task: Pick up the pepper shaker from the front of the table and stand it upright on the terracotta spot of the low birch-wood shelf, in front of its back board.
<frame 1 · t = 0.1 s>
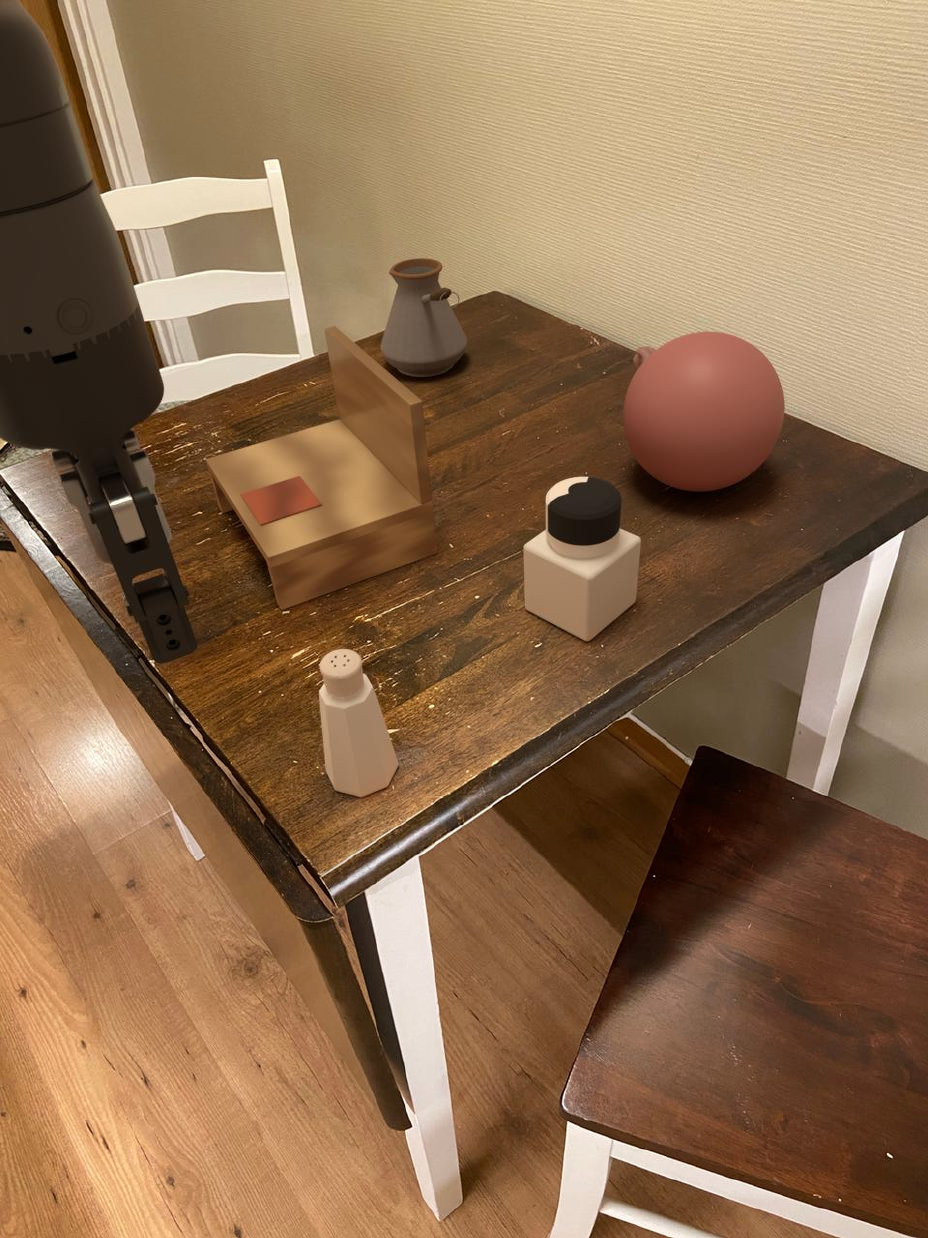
hand: (156, 608, 47), 21 cm above the table, tool pointing down, fingers open, 8 cm apart
shelf: (323, 529, 89), on the table
coffee pot: (435, 380, 114), on the table
medicine bottle: (580, 608, 78), on the table
balloon: (683, 470, 94), on the table
pepper shaker: (362, 770, 65), on the table
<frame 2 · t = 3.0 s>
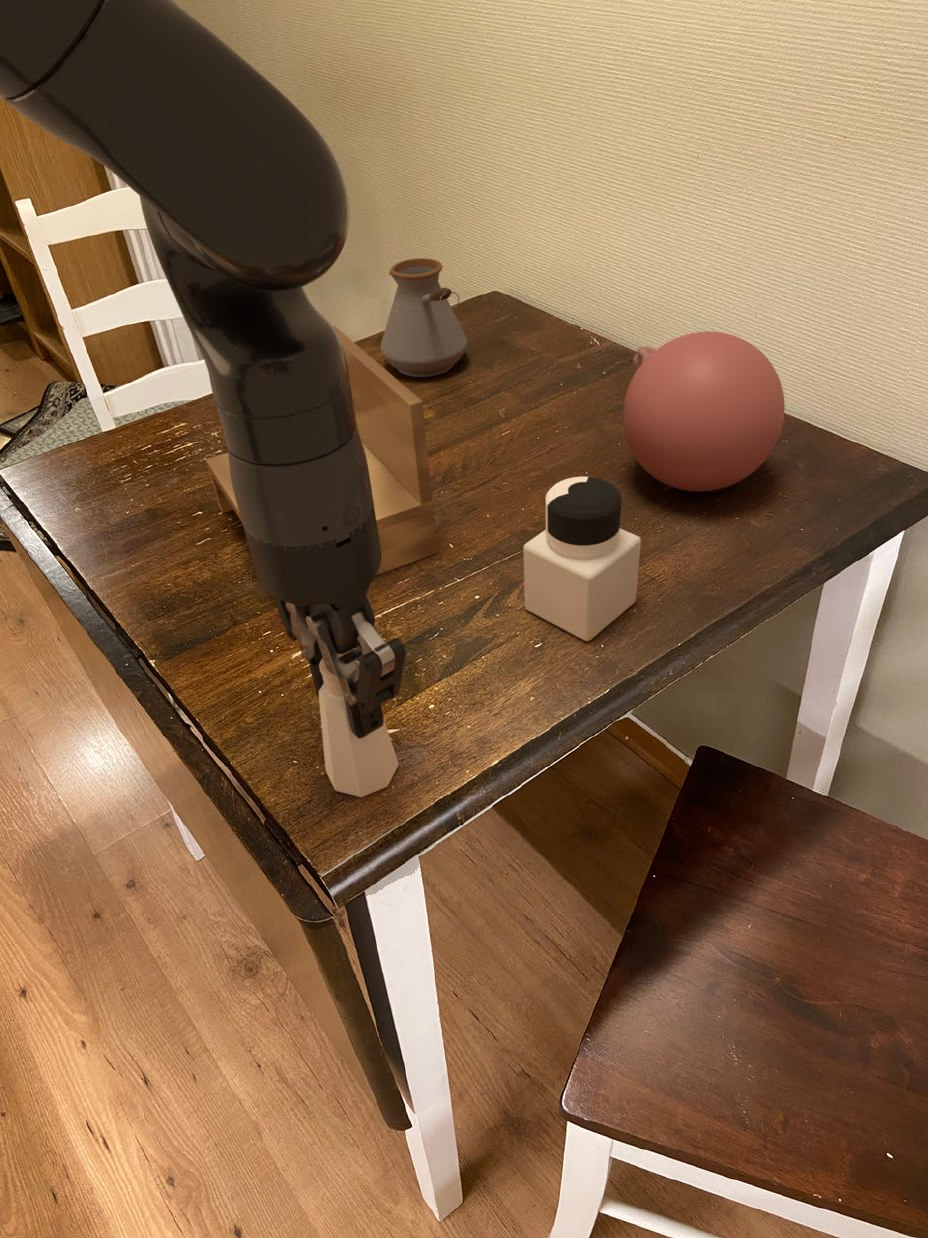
hand: (350, 711, 61), 6 cm above the table, tool pointing down, fingers closed on pepper shaker, 4 cm apart
pepper shaker: (362, 771, 65), on the table, touching gripper
everything else where it was.
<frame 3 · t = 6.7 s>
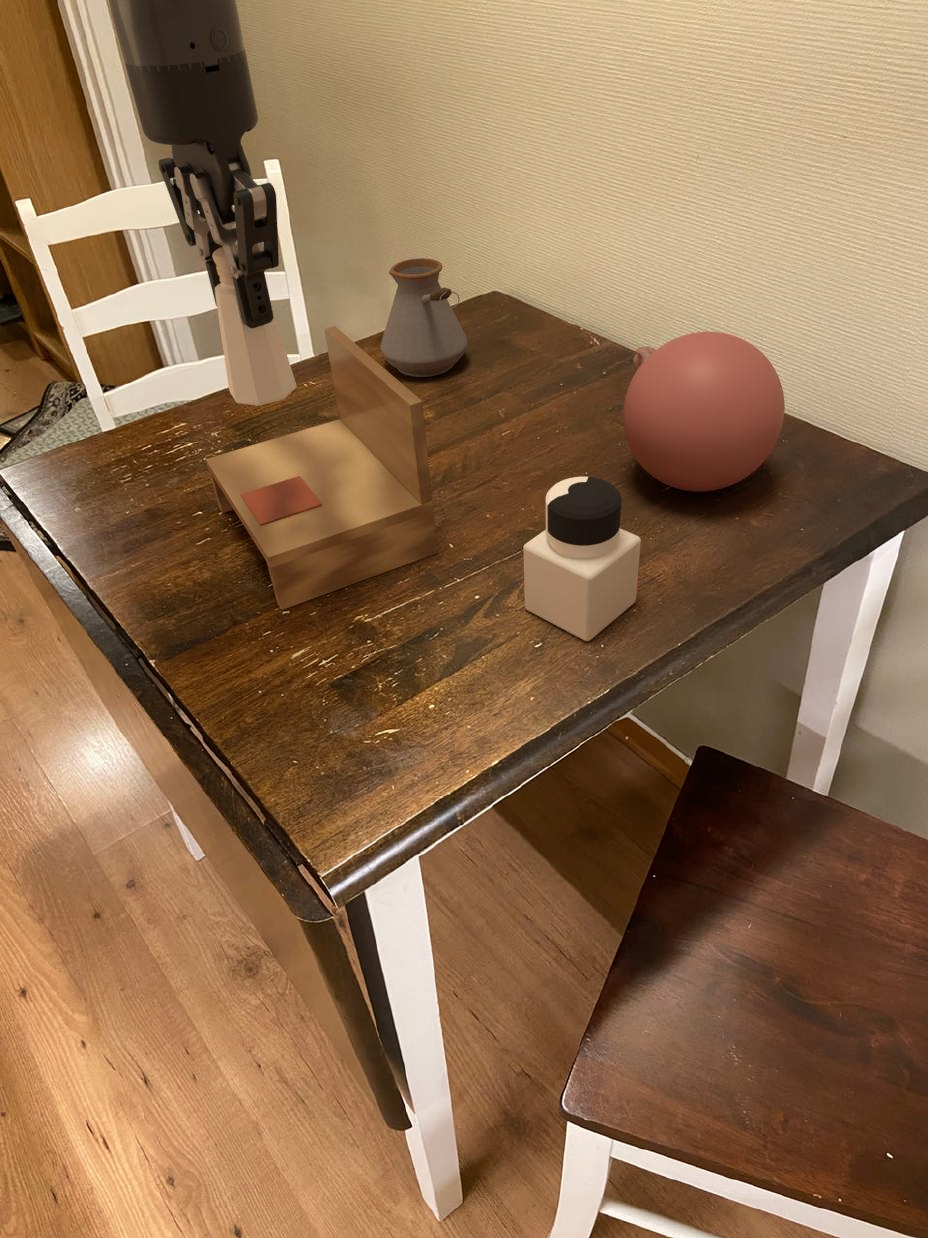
hand: (245, 314, 67), 26 cm above the table, tool pointing down, fingers closed on pepper shaker, 4 cm apart
pepper shaker: (264, 392, 71), point 19 cm above the table, touching gripper
everything else where it was.
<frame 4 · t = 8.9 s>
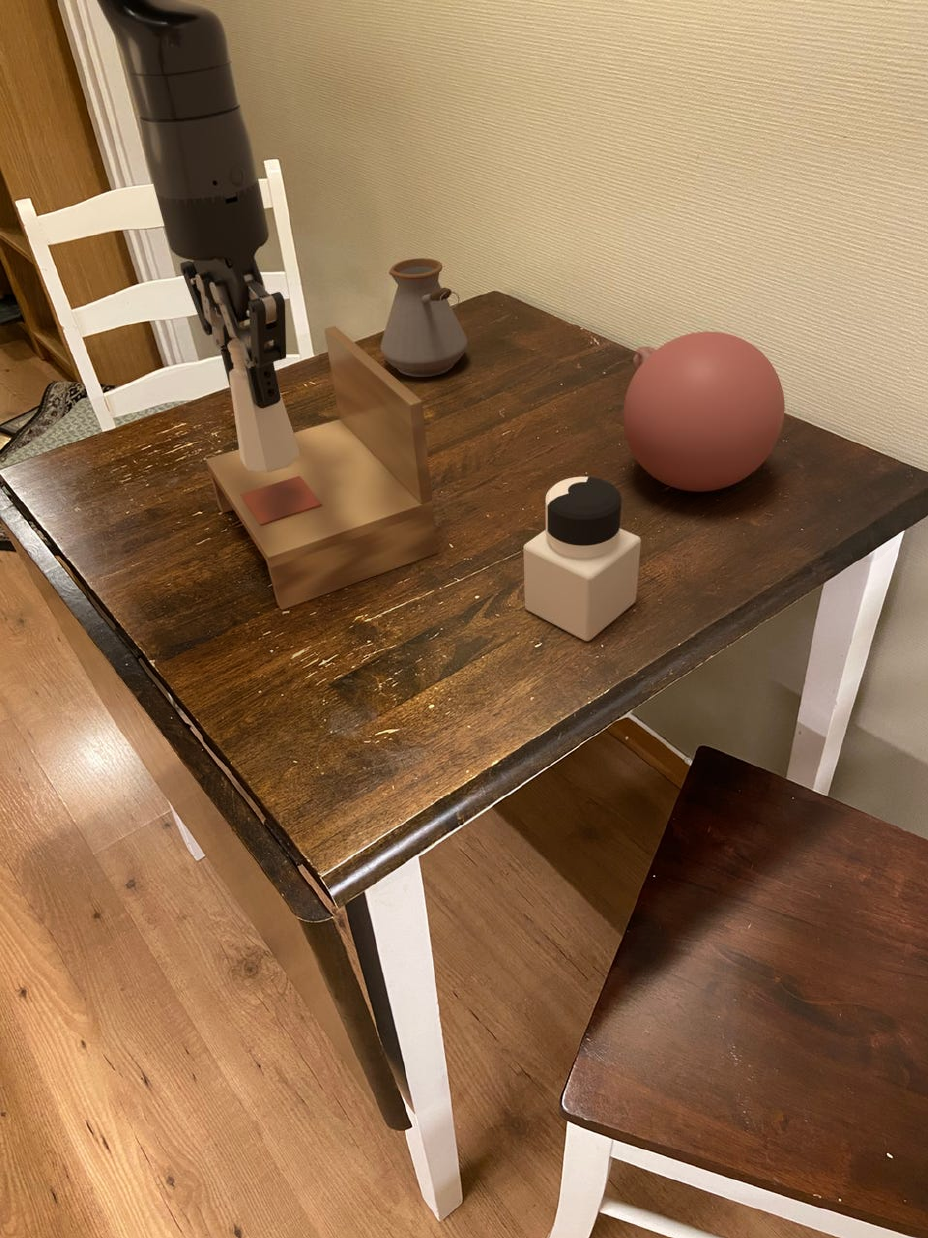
hand: (255, 394, 76), 17 cm above the table, tool pointing down, fingers closed on pepper shaker, 4 cm apart
pepper shaker: (271, 459, 80), point 10 cm above the table, touching gripper
everything else where it was.
when the fingers open (12 cm above the table, at t = 10.4 s): pepper shaker stays where it is, resting on shelf.
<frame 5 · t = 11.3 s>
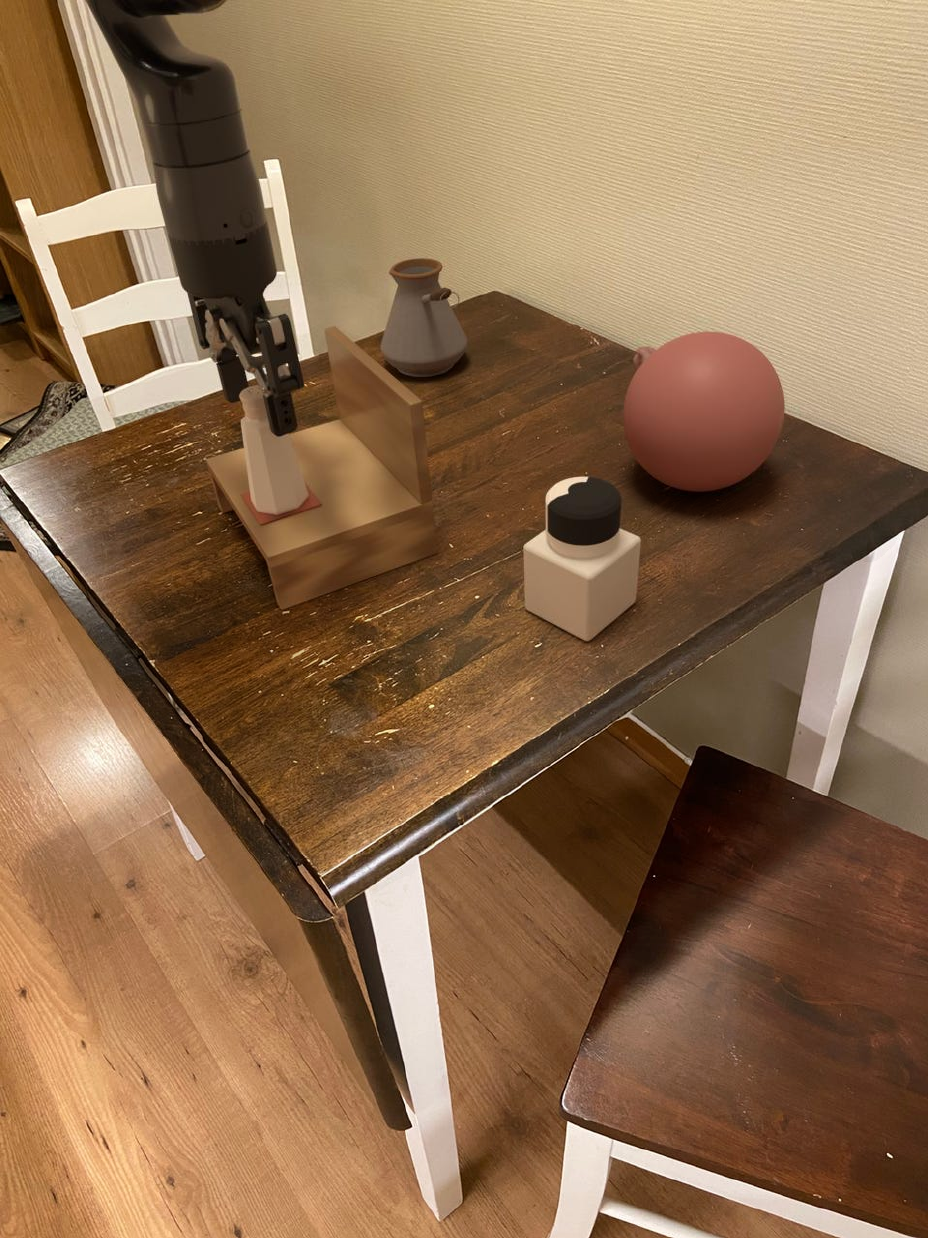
hand: (261, 415, 77), 15 cm above the table, tool pointing down, fingers open, 8 cm apart
pepper shaker: (280, 501, 83), point 6 cm above the table, touching shelf
everything else where it was.
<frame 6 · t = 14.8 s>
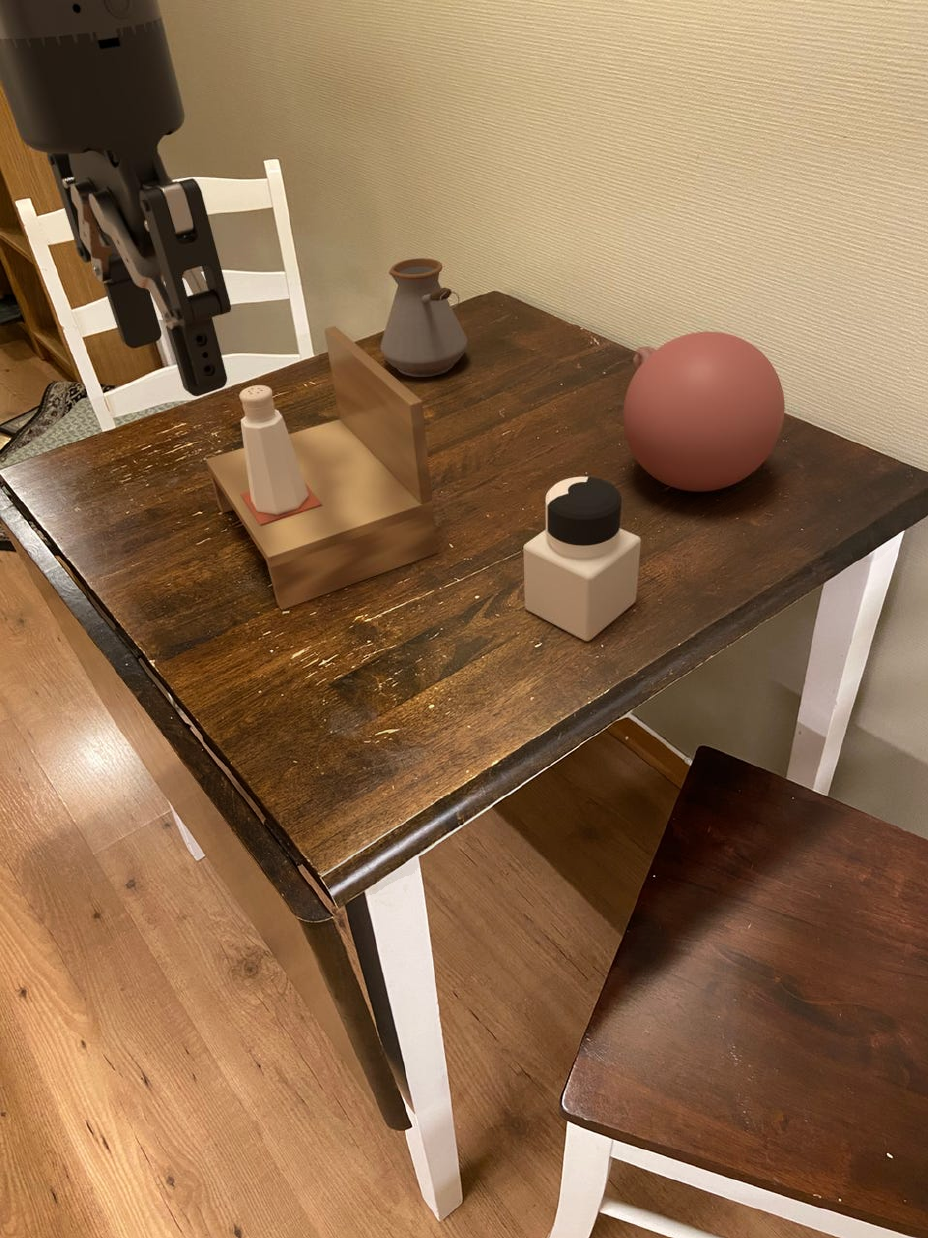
hand: (174, 365, 49), 30 cm above the table, tool pointing down, fingers open, 8 cm apart
nothing on the table moved.
at the end: pepper shaker 0.1 cm from the target spot on the shelf, point 6.0 cm above the shelf's base; pepper shaker tilted 0°; the gripper is holding nothing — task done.
